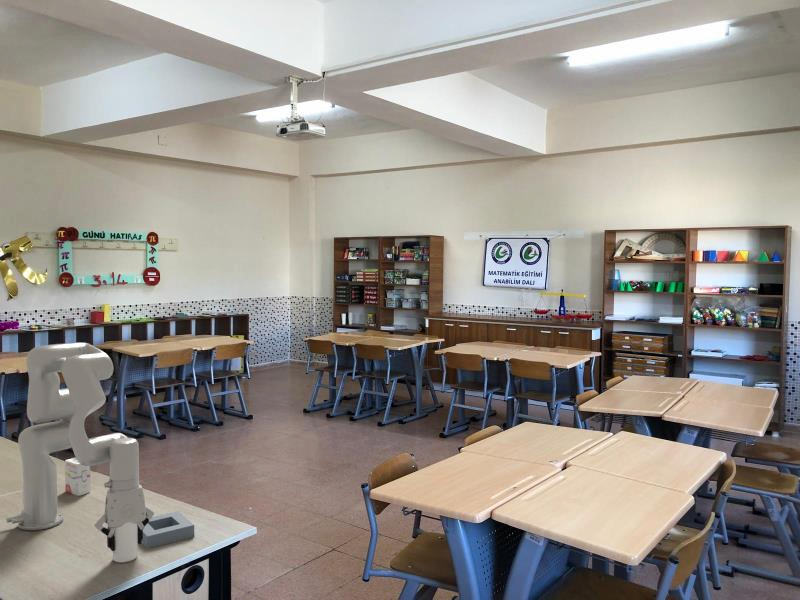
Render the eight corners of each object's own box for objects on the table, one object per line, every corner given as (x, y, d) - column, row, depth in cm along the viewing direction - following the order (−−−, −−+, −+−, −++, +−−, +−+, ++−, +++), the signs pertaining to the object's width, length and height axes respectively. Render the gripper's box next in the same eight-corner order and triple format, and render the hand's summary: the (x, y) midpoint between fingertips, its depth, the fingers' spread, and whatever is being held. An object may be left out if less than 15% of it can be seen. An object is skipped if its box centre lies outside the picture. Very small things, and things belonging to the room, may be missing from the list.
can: (113, 565, 179) (113, 522, 179) (112, 555, 185) (111, 514, 184) (138, 560, 182) (138, 518, 182) (136, 551, 188) (136, 510, 187)
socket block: (147, 548, 190) (147, 536, 190) (132, 532, 201) (132, 521, 201) (194, 536, 199) (194, 524, 199) (178, 521, 210) (177, 511, 210)
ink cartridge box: (64, 491, 237) (63, 451, 236) (77, 488, 241) (76, 448, 240) (78, 496, 232) (77, 455, 231) (91, 492, 236) (90, 452, 235)
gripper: (94, 493, 174) (95, 559, 175) (160, 480, 185) (160, 542, 186) (87, 486, 180) (88, 549, 181) (151, 474, 191) (152, 534, 192)
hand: (125, 545), depth 183 cm, fingers closed on can, 6 cm apart
